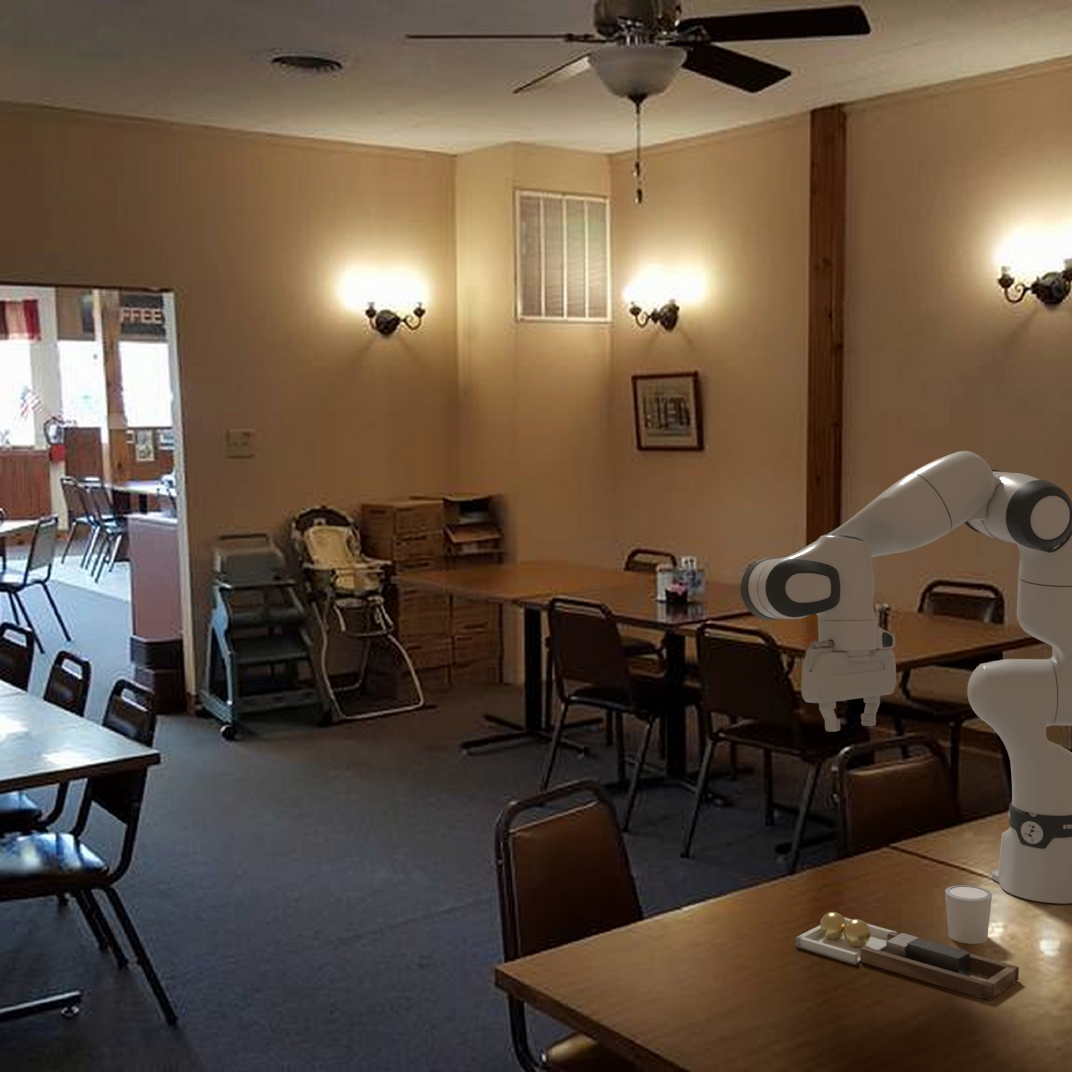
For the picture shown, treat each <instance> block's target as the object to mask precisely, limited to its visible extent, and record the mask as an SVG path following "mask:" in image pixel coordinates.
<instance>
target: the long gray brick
mask: <svg viewBox="0 0 1072 1072" xmlns="http://www.w3.org/2000/svg"><path fill="white" fill-rule="evenodd" d="M885 950H886V951H885V952H887V953H890V954H894V955H897V956H900V957H904V958H907V959H911V960H914V961H918V962H921V963H924V964H928V965H931V966H935V967H938V968H942V969H945V970H948V971H952V972H955V973H959V974H962V975H966V976H969V977H971V976H970V975H971V971H970V954H971V951H967V950H964V949H960V948H957V947H953V946H949V945H947V944H943V943H939V942H935V941H932V940H929V939H925V938H922V937H919V936H914V935H912V934H909V933H905V932H901V933H899V935H897V936H895V937H894V938H892V939H890V940H888V941H886V948H885Z"/></svg>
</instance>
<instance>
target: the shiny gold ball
mask: <svg viewBox="0 0 1072 1072" xmlns="http://www.w3.org/2000/svg"><path fill="white" fill-rule="evenodd" d="M845 918H846V917H845ZM845 918H844V916H843V915H842V914H841V913H838V912H836V911H830V912H827V913H825V914H823V916H822V917H821V919H820V922H819V923H820V928H821V931H822V933H823V934H824V935H825V936H826V937H827V938H829V939H834V940H835V939H840V938H841V937H843V936H844V935H843V930H844V926H845V925H846V923H847V922H846V920H845Z"/></svg>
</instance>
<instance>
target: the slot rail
mask: <svg viewBox="0 0 1072 1072" xmlns="http://www.w3.org/2000/svg"><path fill="white" fill-rule="evenodd" d="M892 931H893V930H892ZM892 931H891V932H890V933H888V934H887V941H888V940H890V939H892V938H894V937H895V936H897V935H899V934H900V933H898V932H897V933H895V932H896V931H895V932H892ZM859 963H863V964H866V965H870V966H873V967H876V968H880V969H883V970H887V971H890V972H893V973H897V974H900V975H902V976H906V977H910V978H913V979H916V980H918V981H919V980H920V981H922V982H926V983H930V984H933V985H936V986H939V987H942V988H945V987H946V989H949V988H950V990H952V989H953V991H955V990H957V991H956V992H959V993H963V994H965V993H966V995H969V994H970V995H969V996H972V995H974V996H973V997H975V996H978V997H982V998H984V999H983V1000H985V999H986V1001H988V1000H990V999H992V998H993V997H994V996H996V995H997V994H999V993H1000V992H1002V991H1003V990H1004V989H1006V988H1007V987H1009V986H1010V985H1012V984H1013V983H1014V982H1016V981H1017V980H1019V974H1020V973H1019V966H1017V965H1013V964H1010V963H1006V962H1002V961H999V960H995V959H992V958H988V957H984V956H980V955H977V954H974V953H970V972H973V973H977V974H980V973H981V975H984V974H985V975H984V976H987V975H989V976H988V977H990V978H988V979H986V980H982V979H979V978H975V977H973V976H966V975H962V974H959V973H955V972H952V971H948V970H945V969H942V968H938V967H935V966H931V965H928V964H924V963H921V962H918V961H914V960H911V959H907V958H904V957H900V956H897V955H894V954H890V953H887V952H886V951H883V950H881V951H880V950H877V949H873V948H870V947H866V946H864V947H862V948H860V962H859ZM991 976H992V977H991ZM1016 983H1017V982H1016ZM1013 985H1014V984H1013ZM1013 985H1012V986H1013ZM1010 987H1011V986H1010ZM1010 987H1009V988H1010ZM1007 989H1008V988H1007ZM1007 989H1006V990H1007ZM1003 992H1004V991H1003ZM1003 992H1002V993H1003ZM1000 994H1001V993H1000ZM1000 994H999V995H1000ZM997 996H998V995H997ZM997 996H996V997H997ZM978 997H977V998H978ZM982 998H981V999H982ZM994 998H995V997H994ZM994 998H993V999H994ZM993 999H992V1000H993ZM990 1001H991V1000H990Z"/></svg>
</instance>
